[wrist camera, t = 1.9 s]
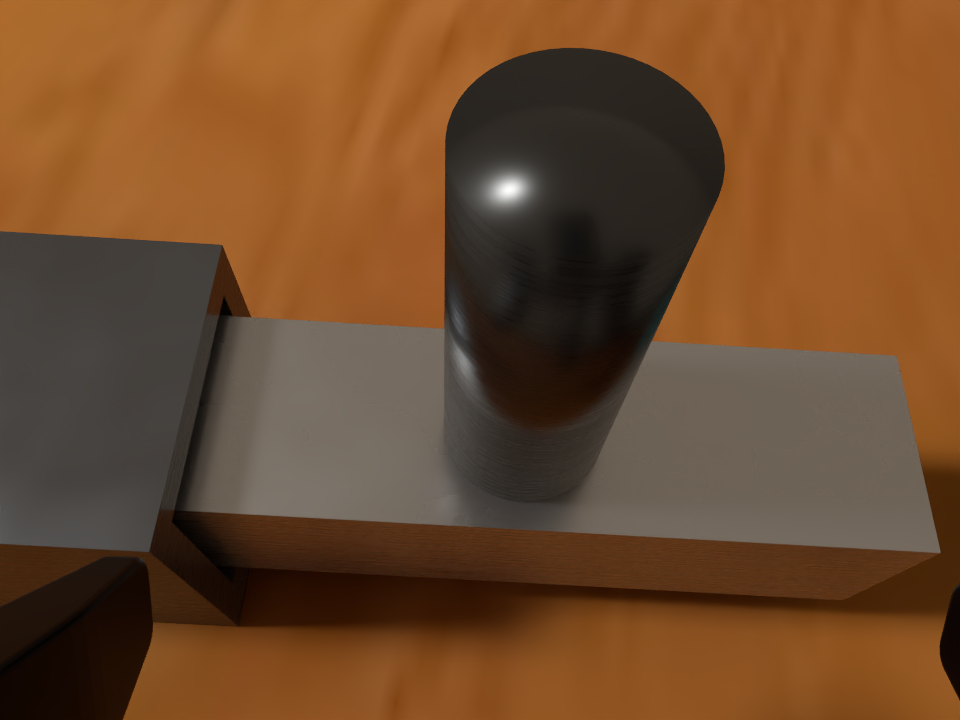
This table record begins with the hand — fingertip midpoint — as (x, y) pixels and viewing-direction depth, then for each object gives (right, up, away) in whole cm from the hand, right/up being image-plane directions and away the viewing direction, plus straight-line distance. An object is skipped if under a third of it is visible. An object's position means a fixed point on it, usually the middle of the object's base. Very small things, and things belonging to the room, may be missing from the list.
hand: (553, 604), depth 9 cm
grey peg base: (-5, 0, +10) cm, 11 cm away
